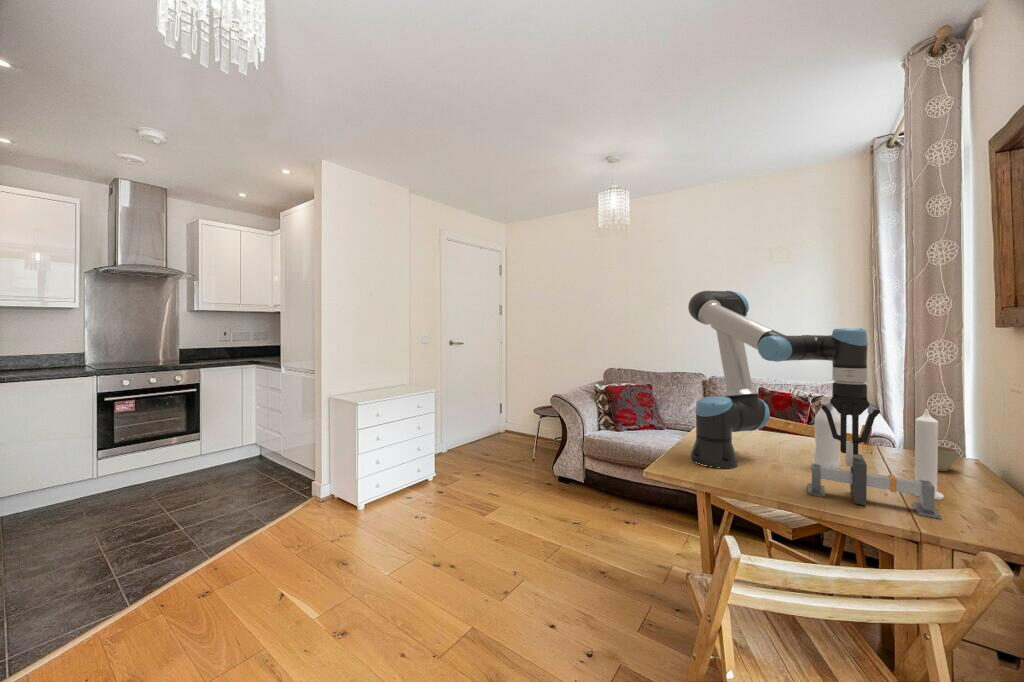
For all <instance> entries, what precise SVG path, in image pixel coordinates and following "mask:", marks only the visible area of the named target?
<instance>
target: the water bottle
mask: <svg viewBox="0 0 1024 682" xmlns="http://www.w3.org/2000/svg"><path fill="white" fill-rule="evenodd" d="M831 398H832V396H822V397H821V403H820V404H821V405H822V404H827V403H829V402H830V400H831ZM831 408H832V410H831V411H830V412H831V415H832V418H833V421H834V424H835V428H836V431H837V434H838V435H840V420H841V417H840V415H839V413H838V412H837V410H836V409H835V408H834V407H833V406H832V407H831ZM813 437H814V440H815V449H814V454H813V462H814V463H813V464H819V465H820V466H826V467H833V468H839V469H841V468H840V467H841V464H842V461H841V460H842V459H841V456H840V455H841V454H840V443H841V442H840V441H839V440H837V439H834V438H833V436H832V432H831V429H830V426H829V422H828V419H827V416H826V413H825V412H824V411H823V409H822V408H821V407H820V408H819V410H818V411H817V413H816V414H815V416H814V433H813Z"/></svg>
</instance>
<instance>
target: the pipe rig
mask: <svg viewBox="0 0 1024 682" xmlns="http://www.w3.org/2000/svg"><path fill="white" fill-rule="evenodd" d="M821 480H827V481H834V482H840V483H845V484H853V470H851V469H847V468H833V467H826V466H820V465H819V464H815V463H811V483H809V482H807V485H806V486H807V495H810V496H815V497H820V498H826V492H825V491H826V489H825V485H822V484H821V482H822V481H821ZM867 487H868V488H869V487H870V488H875V489H881V490H887V491H890V493H896V494H897V493H905V494H910V495H913V494H916V495H919V496H918V501H912V502H911V505H912V506H913V508H914V510H915V509H916V510H915V511H916V514H917V515H918V514H919V515H918V516H920V515H922V516H921V517H925V516H927V517H926V518H931V517H933V518H932V519H936V518H938V519H937V520H942V515H941V514H940V513H939V511H938V510H937V508H936V507H935V499H934V489H935V487H934V486H933V485H932V484H931V482H930V481H925V480H919V481H918V480H915V479H910V478H905V477H899V476H895V475H893V474H888V475H884V474H878V473H872V472H867ZM916 495H915V496H916Z"/></svg>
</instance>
